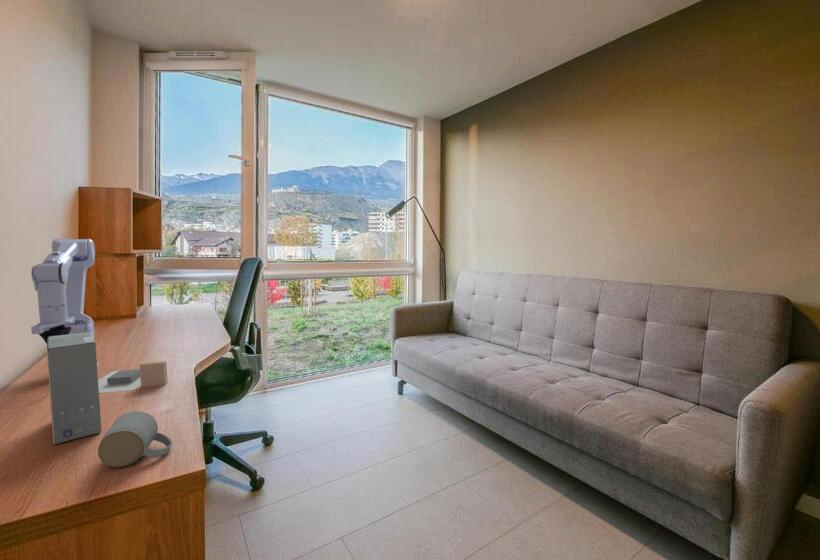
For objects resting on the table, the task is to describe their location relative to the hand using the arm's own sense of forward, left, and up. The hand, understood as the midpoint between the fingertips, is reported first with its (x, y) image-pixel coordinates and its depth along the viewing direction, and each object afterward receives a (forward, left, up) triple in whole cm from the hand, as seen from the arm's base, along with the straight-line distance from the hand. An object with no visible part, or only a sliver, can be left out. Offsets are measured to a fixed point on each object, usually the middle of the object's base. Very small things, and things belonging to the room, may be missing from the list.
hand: (57, 353), depth 105 cm
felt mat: (-1, +15, -10) cm, 18 cm away
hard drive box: (+29, +19, -10) cm, 36 cm away
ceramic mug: (+46, +38, -10) cm, 60 cm away
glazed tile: (-4, +16, -8) cm, 19 cm away
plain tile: (+6, +26, -10) cm, 28 cm away
